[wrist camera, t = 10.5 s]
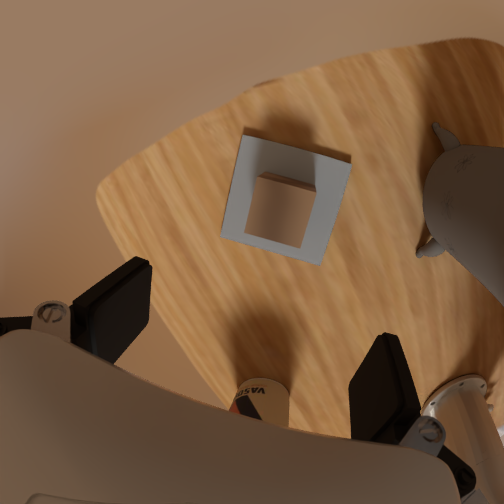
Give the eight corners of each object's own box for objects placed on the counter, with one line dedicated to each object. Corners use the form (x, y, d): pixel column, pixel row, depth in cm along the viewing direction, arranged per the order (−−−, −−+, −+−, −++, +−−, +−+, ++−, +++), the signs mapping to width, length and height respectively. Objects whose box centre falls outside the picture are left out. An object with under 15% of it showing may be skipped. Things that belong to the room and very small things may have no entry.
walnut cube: (315, 185, 28) (316, 192, 23) (301, 232, 29) (300, 248, 25) (265, 171, 28) (257, 176, 23) (254, 218, 30) (243, 232, 25)
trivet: (351, 164, 27) (352, 164, 26) (319, 262, 31) (319, 265, 30) (244, 134, 28) (242, 134, 27) (222, 234, 32) (220, 236, 31)
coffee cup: (268, 364, 37) (252, 435, 26) (307, 401, 39) (301, 468, 28) (220, 386, 41) (195, 448, 30) (259, 419, 42) (244, 479, 31)
